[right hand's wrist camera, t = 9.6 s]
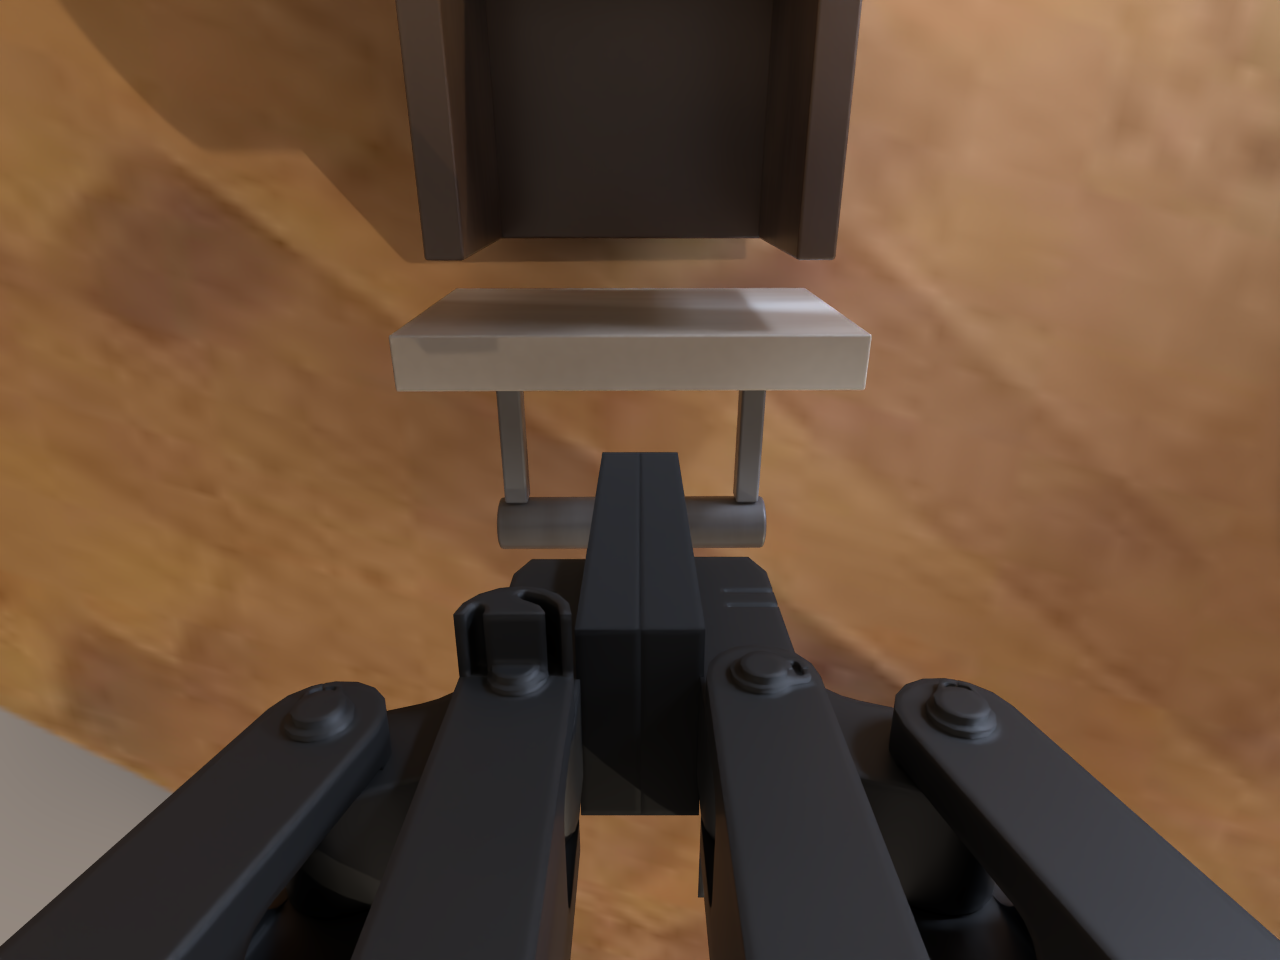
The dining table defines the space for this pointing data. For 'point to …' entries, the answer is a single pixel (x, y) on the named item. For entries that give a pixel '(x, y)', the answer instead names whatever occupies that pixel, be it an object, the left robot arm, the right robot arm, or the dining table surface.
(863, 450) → the dining table surface
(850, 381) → the drawer
